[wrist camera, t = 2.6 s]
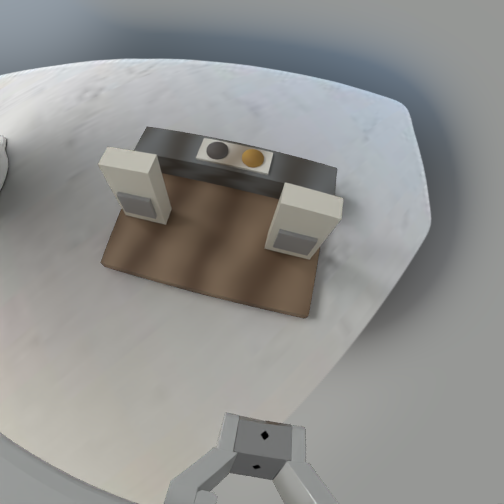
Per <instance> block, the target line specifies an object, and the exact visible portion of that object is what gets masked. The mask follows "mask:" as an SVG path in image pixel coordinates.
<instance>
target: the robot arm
mask: <svg viewBox="0 0 504 504" xmlns="http://www.w3.org/2000/svg"><path fill="white" fill-rule="evenodd" d="M5 147H6V138H5V137H4V136H3V135H0V190H1V188H2V185H3V183H4V181H5V178H6V174H7V170H8V157H7V154H6V151H5ZM229 473H233V474H239V475H246V476H252V477H258V478H263V479H269V480H273V483H274V485H275V487H276V489H277V490H278V492H279V494H280V496H281V498H282V500H283V502H284V504H339V502H338V501H337V500H336V499H335V497H334V496H333V495H332V493H331V492H330V491H329V489H328V488H327V486H326V485H325V484H324V482H323V481H322V480H321V478H320V477H319V476H318V474H317V473H316V471H315V470H314V469H313V467H312V466H311V464H309V463H306V429H305V427H303V426H294V425H290V424H283V423H277V422H270V421H262V420H258V419H253V418H248V417H244V416H239V415H235V414H231V413H227V412H226V413H225V416H224V419H223V423H222V426H221V430H220V433H219V437H218V441H217V446H216V448H212V449H211V450H210V451H209V452H208V453H206V454H205V455H204V456H203V457H201V458H200V459H199V460H197V461H196V462H195V463H194V464H192V465H191V466H190V467H188V468H187V469H186V470H185V471H183V472H182V473H181V474H179V475H178V476H177V477H175V478H174V479H173V480H171V482H170V485H169V488H168V491H167V495H166V498H165V501H164V504H216V503H217V498H218V496H217V495H216V494H215V493H213V492H210V491H211V490H212V489H213V488H214V487H215V486H217V485H218V484H219V483H220V482H221V481H222V480H223V479H224V478H225V477H226V476H227V475H228V474H229ZM0 504H138V503H135V502H132V501H129V500H127V499H124V498H121V497H119V496H116V495H114V494H111V493H109V492H106V491H104V490H102V489H99V488H97V487H95V486H93V485H90V484H88V483H86V482H84V481H82V480H80V479H78V478H76V477H74V476H72V475H70V474H68V473H66V472H64V471H62V470H60V469H58V468H56V467H54V466H53V465H51V464H49V463H47V462H46V461H44V460H42V459H40V458H39V457H37V456H35V455H34V454H32V453H30V452H29V451H27V450H26V449H24V448H22V447H21V446H19V445H18V444H16V443H15V442H13V441H12V440H10V439H9V438H7V437H6V436H4V435H3V434H2V433H0Z"/></svg>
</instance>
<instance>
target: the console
mask: <svg viewBox="0 0 504 504" xmlns="http://www.w3.org/2000/svg"><path fill="white" fill-rule="evenodd" d="M134 151H138V152H144V153H150V154H156V155H157V157H158V161H159V165H160V169H161V172H162V176H163V180H164V183H165V187H166V191H167V194H168V198H169V201H170V205H171V208H172V210H171V212H170V215H169V218H168V220H167V223H166V225H165V224H161V223H157V222H152V221H148V220H144V219H140V218H136V217H132V216H127V215H125V213H124V211H123V209H121V211H120V214H119V216H118V218H117V221H116V223H115V226H114V228H113V231H112V233H111V236H110V239H109V241H108V244H107V246H106V249H105V252H104V254H103V257H102V260H101V264H102V265H104V266H105V267H107V268H111V269H114V270H117V271H121V272H124V273H127V274H131V275H134V276H138V277H141V278H145V279H148V280H152V281H155V282H159V283H163V284H166V285H170V286H174V287H177V288H181V289H185V290H189V291H192V292H196V293H200V294H204V295H208V296H212V297H216V298H220V299H224V300H228V301H232V302H236V303H240V304H244V305H248V306H252V307H256V308H261V309H265V310H269V311H274V312H278V313H283V314H287V315H292V316H296V317H301V318H306V317H308V315H309V310H310V304H311V299H312V293H313V287H314V281H315V275H316V269H317V263H318V257H319V250H320V247H319V248H318V250H317V251H316V252H315V253H314V255H313V256H312V257H311V259H310V260H309V259H305V258H301V257H297V256H293V255H289V254H284V253H280V252H276V251H272V250H268V249H264V248H265V244H266V239H267V235H268V231H269V228H270V225H271V222H272V219H273V216H274V213H275V210H276V208H277V205H278V202H279V199H280V196H281V193H282V190H283V187H284V184H285V182H286V183H289V184H293V185H297V186H301V187H305V188H308V189H312V190H316V191H319V192H323V193H327V194H330V195H335V185H336V175H337V168H335V167H331V166H328V165H325V164H321V163H317V162H314V161H310V160H307V159H303V158H299V157H295V156H291V155H288V154H284V153H280V152H276V151H272V150H267V149H263V148H259V147H255V146H250V145H246V144H241V143H236V142H232V141H227V140H222V139H217V138H212V137H207V136H201V135H196V134H190V133H185V132H179V131H173V130H166V129H160V128H153V127H146V129H145V131H144V133H143V135H142V136H141V138H140V140H139V142H138V144H137V146H136V148H135V150H134Z"/></svg>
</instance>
